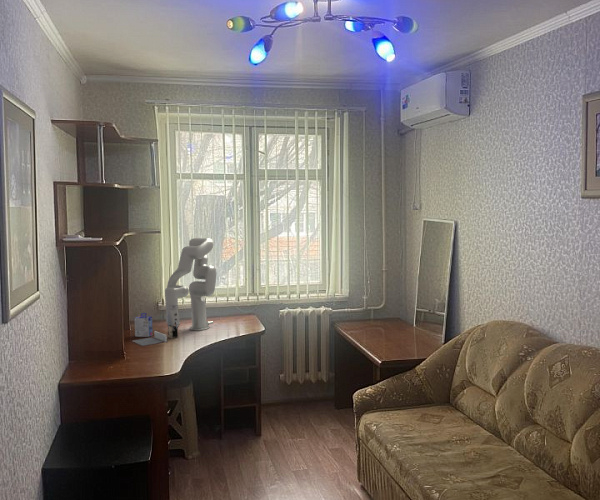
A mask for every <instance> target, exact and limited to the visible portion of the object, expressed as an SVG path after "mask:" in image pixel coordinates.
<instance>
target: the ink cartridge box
mask: <svg viewBox="0 0 600 500" xmlns="http://www.w3.org/2000/svg"><path fill="white" fill-rule="evenodd" d="M147 314H148V313H146V312H141V314H140V316H136V317H134V337H135V338H136V337H139V338H142V337H143V338H144V337H145V338H151V337H152V336H154V335H153V333H154V330H153V316H147Z"/></svg>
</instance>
